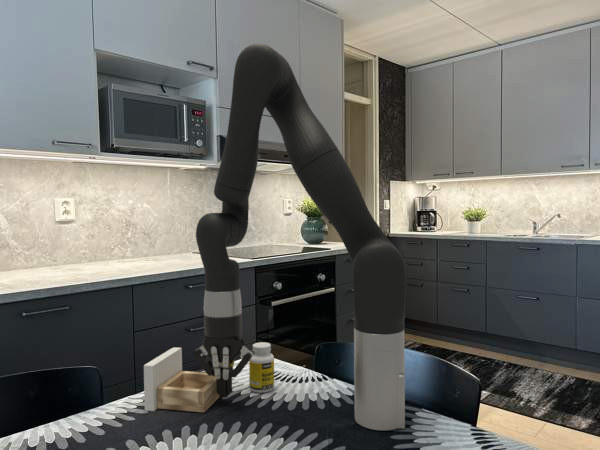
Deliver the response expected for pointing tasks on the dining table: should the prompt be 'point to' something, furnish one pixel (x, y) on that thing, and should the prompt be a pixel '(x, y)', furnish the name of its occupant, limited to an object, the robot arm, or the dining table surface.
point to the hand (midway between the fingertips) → (224, 395)
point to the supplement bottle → (261, 368)
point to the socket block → (188, 392)
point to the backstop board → (160, 374)
